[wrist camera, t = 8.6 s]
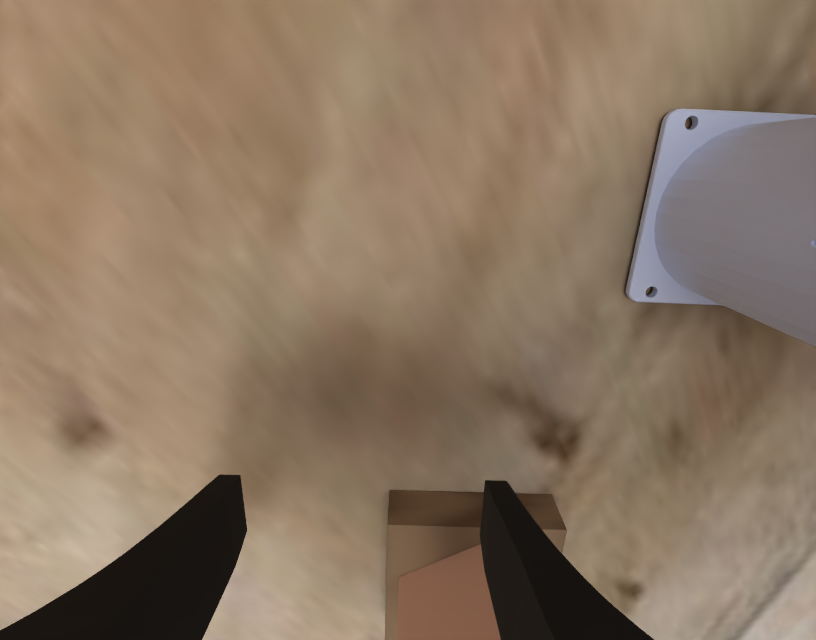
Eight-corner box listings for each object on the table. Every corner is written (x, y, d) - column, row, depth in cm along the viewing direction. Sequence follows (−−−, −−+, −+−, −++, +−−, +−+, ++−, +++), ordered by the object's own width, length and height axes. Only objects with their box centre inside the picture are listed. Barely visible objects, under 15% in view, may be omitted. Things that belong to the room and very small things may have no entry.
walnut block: (548, 488, 25) (566, 530, 22) (528, 603, 28) (542, 653, 25) (390, 483, 25) (387, 524, 22) (387, 599, 28) (384, 648, 25)
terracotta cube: (485, 542, 22) (505, 643, 18) (524, 605, 24) (552, 714, 19) (399, 577, 23) (396, 683, 18) (441, 635, 25) (449, 747, 20)
